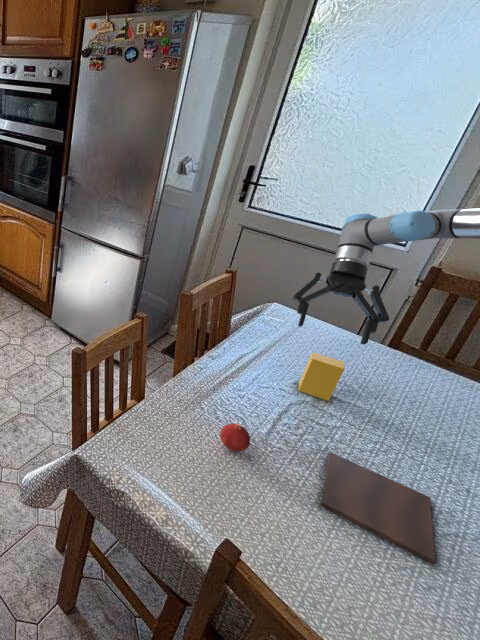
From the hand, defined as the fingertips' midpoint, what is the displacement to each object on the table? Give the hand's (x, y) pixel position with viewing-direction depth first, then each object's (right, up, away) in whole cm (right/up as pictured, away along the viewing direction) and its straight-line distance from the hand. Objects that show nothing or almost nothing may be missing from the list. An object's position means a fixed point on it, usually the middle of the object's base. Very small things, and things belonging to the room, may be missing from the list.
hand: (331, 333), depth 113 cm
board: (-16, -29, -28) cm, 44 cm away
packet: (-6, -16, -1) cm, 17 cm away
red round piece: (-38, -24, -16) cm, 48 cm away
